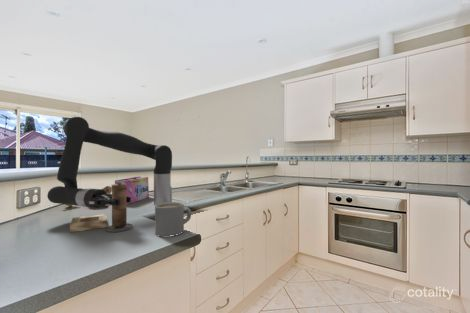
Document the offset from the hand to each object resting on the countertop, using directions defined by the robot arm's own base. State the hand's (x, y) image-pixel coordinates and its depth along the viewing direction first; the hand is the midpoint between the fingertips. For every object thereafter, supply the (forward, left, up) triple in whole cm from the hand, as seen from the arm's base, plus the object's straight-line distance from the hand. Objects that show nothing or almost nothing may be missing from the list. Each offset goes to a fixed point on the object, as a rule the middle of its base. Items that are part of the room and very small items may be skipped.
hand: (124, 201), depth 90 cm
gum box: (-10, -59, -11) cm, 61 cm away
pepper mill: (+2, -2, -9) cm, 10 cm away
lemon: (+22, -58, -11) cm, 62 cm away
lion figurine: (+8, -68, -11) cm, 69 cm away
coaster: (+2, -2, -11) cm, 11 cm away
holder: (+12, -13, -11) cm, 20 cm away
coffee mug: (-15, +12, -11) cm, 23 cm away
